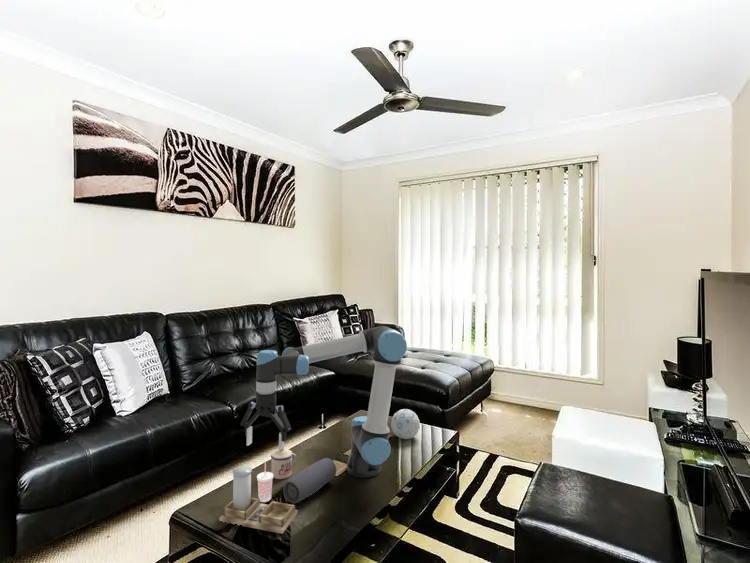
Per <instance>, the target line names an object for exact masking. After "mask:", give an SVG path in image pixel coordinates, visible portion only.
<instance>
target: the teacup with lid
mask: <svg viewBox="0 0 750 563" xmlns="http://www.w3.org/2000/svg"><path fill="white" fill-rule="evenodd" d="M270 459H271V460H270V461H271V462H270V463H271V464H270V466H271V468H270V469H271V470H270V472H271V473H273V479H276V480H284V479H287V478H289V477H291V476H292V474H293V472H292V471H293V464H294V463H295V462H296V459H297V455H296V454H295V453H293V451H292V450H290V449H288V448H287V449H286V448H285V447H284V448H283V449H282V450H281V451H279V448H278V449H276V450H273V451H272V452H271V454H270Z"/></svg>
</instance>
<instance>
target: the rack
mask: <svg viewBox="0 0 750 563" xmlns="http://www.w3.org/2000/svg"><path fill="white" fill-rule="evenodd" d="M298 513H299V510H298V509H296V505H295V504H292V503H291V504H290V503H285V502H279V501H273V500H271V501H270V503H269V504H266V503H263V502H260V499H259V497H258V498H256V497H251V506H250V507H249V508H248V509H247V510H246V511H241V510H235V509H233V499H232V500H231V501H230V502H229V503H228V504H226V505H225V506H224V507H223V508H222V514H221V516H220V517H219V518H218V519H219V522H220V521H222V522H221V523H225V522H226V523H225V524H230V523H231V524H232V525H235V524H237V525H236V526H240V525H242V526H241V527H247V528H250V529H251V528H252V529H257V530H261V531H266V532H267V531H268V532H271V533H276V534H281V535H282V534H283V533H284V532H285V531H286V530H287V528H288V527H289V526H290V524H291V523H292V522H293V520H294V519H295V518H296V516H297V515H298Z"/></svg>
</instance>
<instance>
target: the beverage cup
mask: <svg viewBox="0 0 750 563" xmlns="http://www.w3.org/2000/svg"><path fill="white" fill-rule="evenodd" d="M256 479H257V490H258V491H257V494H258V496H257V497H258V499H260V503H267V502H269V501H270V500H272V492H273V491H272V490H273V479H274V478H273V473H271V471H267V462H264V471H263V472H262V471H261V472H259V473H258V474H257V475H256Z"/></svg>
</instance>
